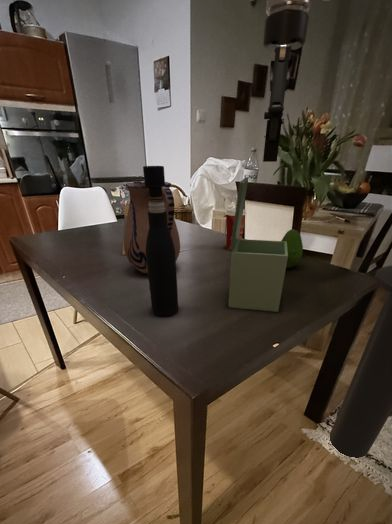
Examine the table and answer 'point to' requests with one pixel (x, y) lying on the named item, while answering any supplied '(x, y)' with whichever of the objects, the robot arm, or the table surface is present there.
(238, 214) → the bin lid
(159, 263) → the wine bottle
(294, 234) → the avocado
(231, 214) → the paper cup
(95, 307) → the table surface
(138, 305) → the table surface
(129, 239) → the ceramic pitcher
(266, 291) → the bin
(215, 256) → the table surface
